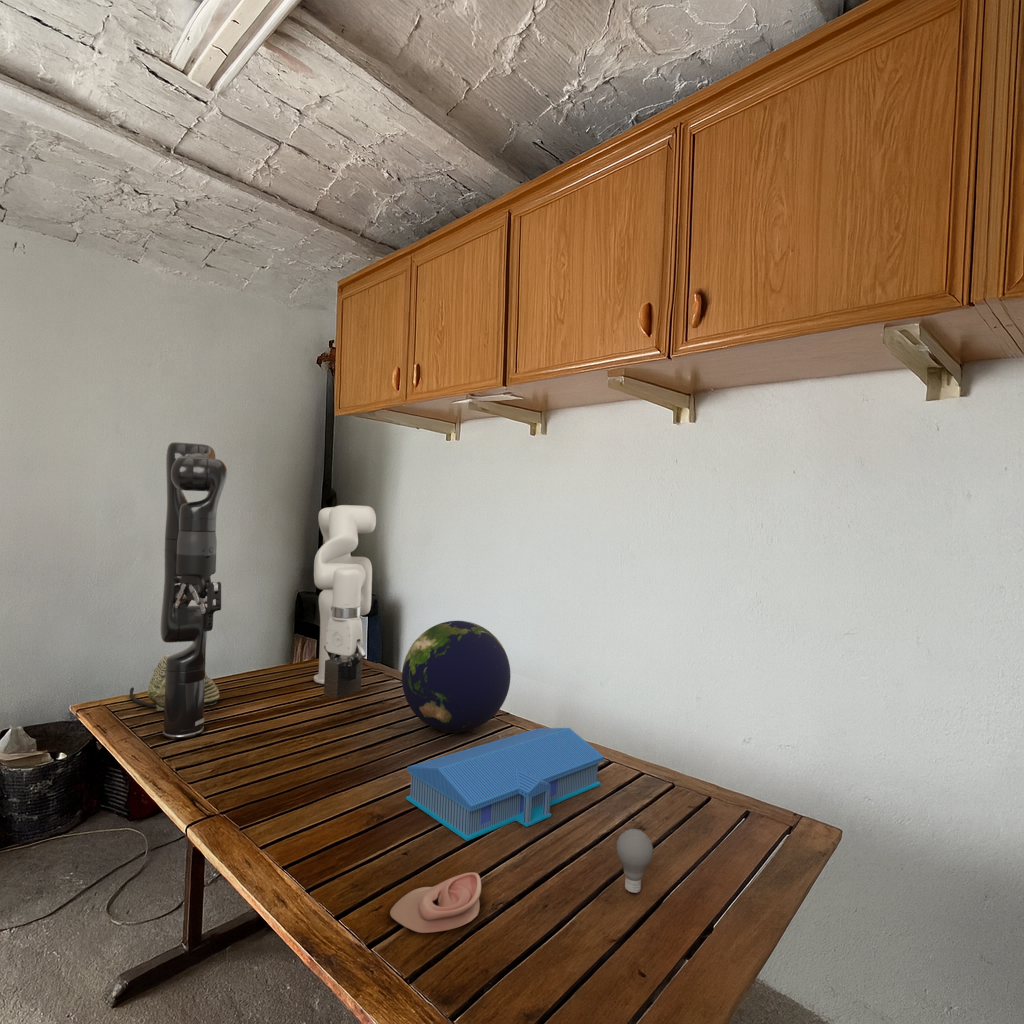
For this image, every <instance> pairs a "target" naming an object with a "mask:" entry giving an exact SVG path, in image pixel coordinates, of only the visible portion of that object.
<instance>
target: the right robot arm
mask: <svg viewBox="0 0 1024 1024" xmlns="http://www.w3.org/2000/svg"><path fill="white" fill-rule="evenodd" d="M317 517H318V525H319V529H320V533H321V535H322V537H323V541H324V544H322V545H321V546H320V548H319V549H318V550H317V552H316V554H315V556H314V561H313V582H314V585H315V587H316V589H319V590H322V591H321V592H319V595H318V610H319V621H320V622H319V652H318V653H319V654H318V673H317V674H315V675H314V676H313V681H314V682H315V683H316V684H319V685H320V684H321V685H324V677H325V660H329V659H332V658H336V657H340V656H346V657H347V660H348V665H349V666H347V671H346V680H347V681H350V680H354V679H356V666H357V665H358V664H359V662H360V661H361V660H362V661H363V659H365V658H366V656H367V655H366V652H365V650H364V648H363V645H364V641H363V640H364V635H363V622H362V618H361V616H366V615H368V614H369V613H370V611H371V607H372V590H373V589H372V588H373V566H372V562H371V560H370V559H369V558H368V557H366V556H352V555H351V553H352V552H355V550H356V549H357V547H358V545H359V534H370V533H373V532H374V530H375V529H376V525H377V515H376V512H375V510H374V508H373V507H372V506H369V505H351V504H341V505H340V504H339V505H336V506H331V507H330V506H329V507H324V508H321V509H320V511H319V512H318V516H317ZM352 657H353V660H352Z"/></svg>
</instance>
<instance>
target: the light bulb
mask: <svg viewBox="0 0 1024 1024" xmlns="http://www.w3.org/2000/svg"><path fill="white" fill-rule="evenodd" d="M615 849H616V854H617V857H618V859H619V861H620V863H621V865H622V867H623V873H624V874H623V875H624V876H625V878H624V888H625V890H627V891H628V892H630V893H634V894H635V893H639V892H640V891H641V889H642V887H641V886H642V879H643V877H644V875H645V871H646V868H647V867H648V866H649V864H650V863H651V861H652V859H653V855H654V847H653V843H652V841H651V838H649V836H648V835H647V834H646V833H645V832H643V831H642V830H641V829H636V828H629V829H627V830H625V831H623V832H622V833H621V834H620V835H619V837H618V839H617V841H616V847H615Z"/></svg>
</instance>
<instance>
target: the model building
mask: <svg viewBox="0 0 1024 1024" xmlns="http://www.w3.org/2000/svg"><path fill="white" fill-rule="evenodd" d="M604 759H605V756H604V755H603V754H602V753H600V751H598V750H597V749H596V748H595V747H593V746H592V745H590V744H589V742H587V741H586V740H585V739H584V738H582V737H581V736H580V735H578V733H576V732H575V731H574V730H573V729H572V728H570V727H550V728H548V727H547V728H546V727H542V728H540V727H539V728H534V729H531V730H527V731H524V732H520V733H517V734H514V735H510V736H507V737H504V738H501V739H497V740H494V741H490V742H486V743H484V744H480V745H477V746H473V747H470V748H467V749H463V750H460V751H457V752H456V751H455V752H453V753H450V754H446V755H443V756H439V757H437V758H432V759H430V760H426V761H423V762H419V763H417V764H413V765H409V766H407V767H406V773H408V774H410V795H406V797H405V799H406V800H407V801H408V802H410V803H411V804H412V805H414V806H415V807H417V808H418V809H420V810H421V811H422V812H424V813H425V814H427V815H429V816H430V817H431V818H433V819H434V820H436V821H437V822H438V823H440V824H441V825H443V826H444V827H446V828H447V829H449V830H450V831H452V832H453V833H455V834H456V835H457V836H458V837H460V838H461V839H463V840H464V841H466V842H469V841H471V840H473V839H475V838H478V837H480V836H482V835H485V834H488V833H490V832H493V831H495V830H497V829H499V828H502V827H504V826H507V825H509V824H511V823H514V822H515V821H516V822H518V823H519V824H520V825H523V827H526V828H529V827H530V826H533V825H535V824H537V823H540V822H542V821H544V820H546V819H549V818H551V817H552V813H550V811H551V810H550V809H551V807H552V806H554V805H557V804H559V803H561V802H564V801H567V800H568V799H571V798H573V797H575V796H578V795H580V794H583V793H585V792H587V791H590V790H592V789H594V788H597V787H599V786H601V785H602V782H600V781H598V774H599V773H598V772H599V763H603V762H604V761H605V760H604Z"/></svg>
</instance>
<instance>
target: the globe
mask: <svg viewBox="0 0 1024 1024" xmlns="http://www.w3.org/2000/svg"><path fill="white" fill-rule="evenodd" d="M511 675H512V674H511V665H510V660H509V657H508V655H507V652H506V650H505V647H504V646H503V644H502V643H501V641H500V640H499V639H498V638H497V637H496V636H495V634H494V633H492V632H491V631H490V630H489V629H487V628H485V627H483V626H481V625H480V624H477V623H474V622H471V621H468V620H448V621H444V622H440V623H437V624H435V625H433V626H431V627H429V628H428V629H427V630H425V631H424V632H422V633H421V634H420V635H419V636H418V637H417V638H416V639H415V640H414V642H413V643H412V644H411V646H410V647H409V649H408V651H407V653H406V655H405V658H404V662H403V665H402V671H401V685H402V686H401V687H402V691H403V695H404V698H405V700H406V702H407V705H408V706H409V708H410V709H411V711H412V712H413V713H414V715H415V716H416V717H417V718H418V719H419V720H420V721H422V722H423V723H424V724H426V725H427V726H429V727H430V728H433V729H436V730H438V731H441V732H445V733H451V734H453V733H454V734H455V733H456V734H457V733H464V732H465V733H466V732H470V731H473V730H475V729H478V728H480V727H481V726H483V725H485V724H486V723H488V722H489V721H490V720H492V718H493V717H495V716H496V715H497V713H498V712H499V711H500V709H501V708H502V706H503V705H504V702H505V701H506V699H507V696H508V694H509V690H510V685H511Z"/></svg>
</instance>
